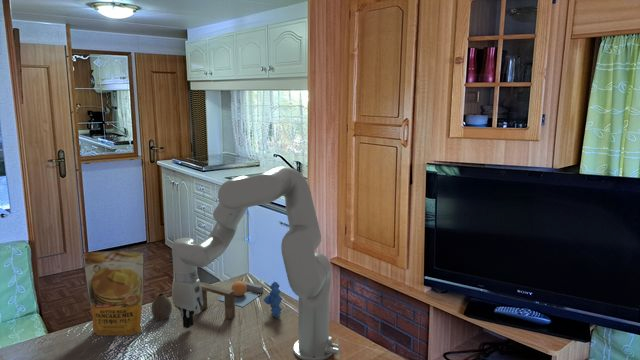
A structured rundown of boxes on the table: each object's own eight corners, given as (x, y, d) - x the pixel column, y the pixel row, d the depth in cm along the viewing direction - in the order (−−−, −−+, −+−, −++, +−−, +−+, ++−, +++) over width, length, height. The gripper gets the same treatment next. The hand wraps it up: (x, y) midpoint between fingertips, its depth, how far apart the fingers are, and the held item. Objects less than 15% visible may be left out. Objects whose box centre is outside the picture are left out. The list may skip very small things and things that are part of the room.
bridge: (203, 306, 171) (202, 282, 169) (234, 315, 164) (234, 290, 162) (197, 309, 168) (196, 285, 166) (229, 319, 161) (228, 294, 159)
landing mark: (261, 294, 181) (261, 294, 181) (242, 307, 170) (242, 306, 170) (237, 288, 186) (237, 287, 186) (217, 300, 176) (217, 299, 176)
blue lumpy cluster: (262, 307, 170) (262, 277, 168) (280, 306, 171) (280, 276, 169) (265, 323, 159) (264, 291, 157) (284, 321, 160) (284, 289, 158)
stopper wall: (262, 291, 183) (262, 286, 183) (260, 293, 182) (259, 287, 181) (243, 286, 188) (242, 280, 187) (240, 288, 186) (239, 282, 186)
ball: (246, 280, 177) (238, 294, 174) (251, 287, 182) (243, 301, 178) (234, 276, 180) (226, 289, 176) (239, 283, 184) (231, 296, 181)
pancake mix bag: (94, 326, 156) (86, 249, 150) (150, 325, 156) (144, 249, 151) (85, 336, 149) (76, 256, 144) (143, 336, 150) (137, 256, 144)
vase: (175, 313, 165) (174, 290, 164) (167, 322, 159) (166, 299, 157) (157, 312, 166) (155, 289, 164) (148, 321, 159) (146, 298, 158)
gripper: (210, 275, 150) (212, 326, 154) (177, 267, 157) (180, 316, 160) (194, 284, 143) (197, 337, 147) (160, 274, 150) (163, 325, 154)
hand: (188, 326), depth 154 cm, fingers closed
